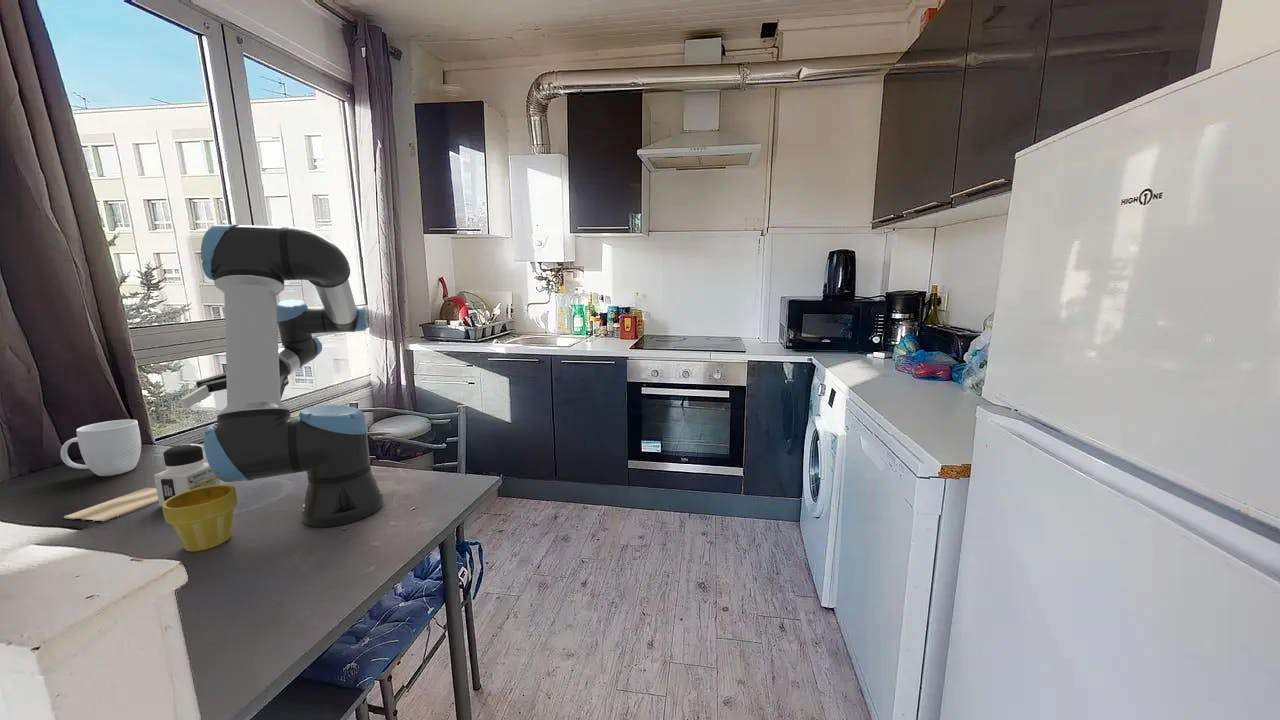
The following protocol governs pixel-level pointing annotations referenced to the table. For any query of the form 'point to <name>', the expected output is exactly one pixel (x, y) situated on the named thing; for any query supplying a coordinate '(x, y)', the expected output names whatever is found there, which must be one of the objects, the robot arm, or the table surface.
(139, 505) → the wooden board
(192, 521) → the plant pot
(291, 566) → the table surface
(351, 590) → the table surface
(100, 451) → the mug
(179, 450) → the container
